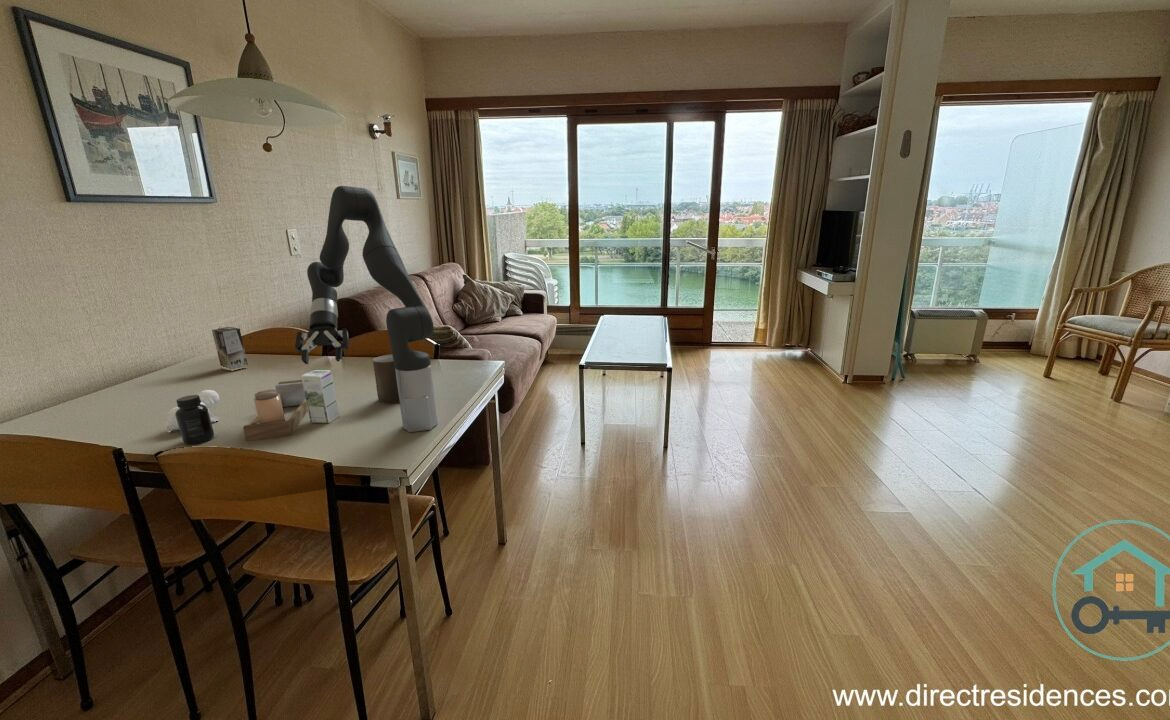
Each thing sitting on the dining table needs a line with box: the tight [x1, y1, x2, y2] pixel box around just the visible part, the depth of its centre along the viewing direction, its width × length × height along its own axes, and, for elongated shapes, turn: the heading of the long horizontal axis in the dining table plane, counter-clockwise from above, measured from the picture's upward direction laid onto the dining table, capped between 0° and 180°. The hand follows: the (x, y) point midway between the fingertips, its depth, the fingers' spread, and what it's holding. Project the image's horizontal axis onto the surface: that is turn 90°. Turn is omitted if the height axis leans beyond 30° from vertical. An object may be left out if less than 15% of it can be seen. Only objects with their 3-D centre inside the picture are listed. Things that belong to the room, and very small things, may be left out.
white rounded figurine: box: [163, 389, 221, 432], centre depth 141 cm, size 9×8×15 cm
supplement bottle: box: [175, 394, 215, 446], centre depth 130 cm, size 7×7×12 cm
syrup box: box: [301, 369, 340, 424], centre depth 141 cm, size 6×6×14 cm
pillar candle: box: [372, 353, 400, 405], centre depth 156 cm, size 10×10×15 cm
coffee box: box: [211, 326, 249, 369], centre depth 194 cm, size 9×6×16 cm
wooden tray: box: [242, 379, 308, 442], centre depth 146 cm, size 32×10×6 cm, turn 15°
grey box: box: [274, 382, 306, 408], centre depth 156 cm, size 6×8×7 cm
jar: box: [253, 389, 286, 424], centre depth 135 cm, size 6×6×11 cm
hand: (321, 361), depth 145 cm, fingers open, 8 cm apart
